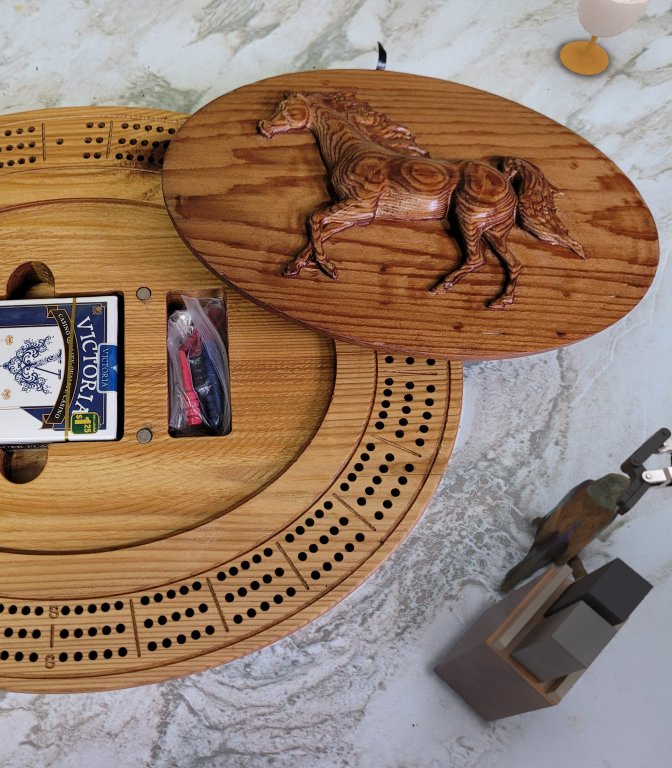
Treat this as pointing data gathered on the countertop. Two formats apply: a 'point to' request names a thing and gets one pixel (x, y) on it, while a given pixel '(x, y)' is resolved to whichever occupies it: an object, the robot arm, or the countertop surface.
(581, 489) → the bird figurine
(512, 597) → the pedestal
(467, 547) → the countertop surface
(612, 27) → the cup
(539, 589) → the pad mount
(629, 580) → the back pad
